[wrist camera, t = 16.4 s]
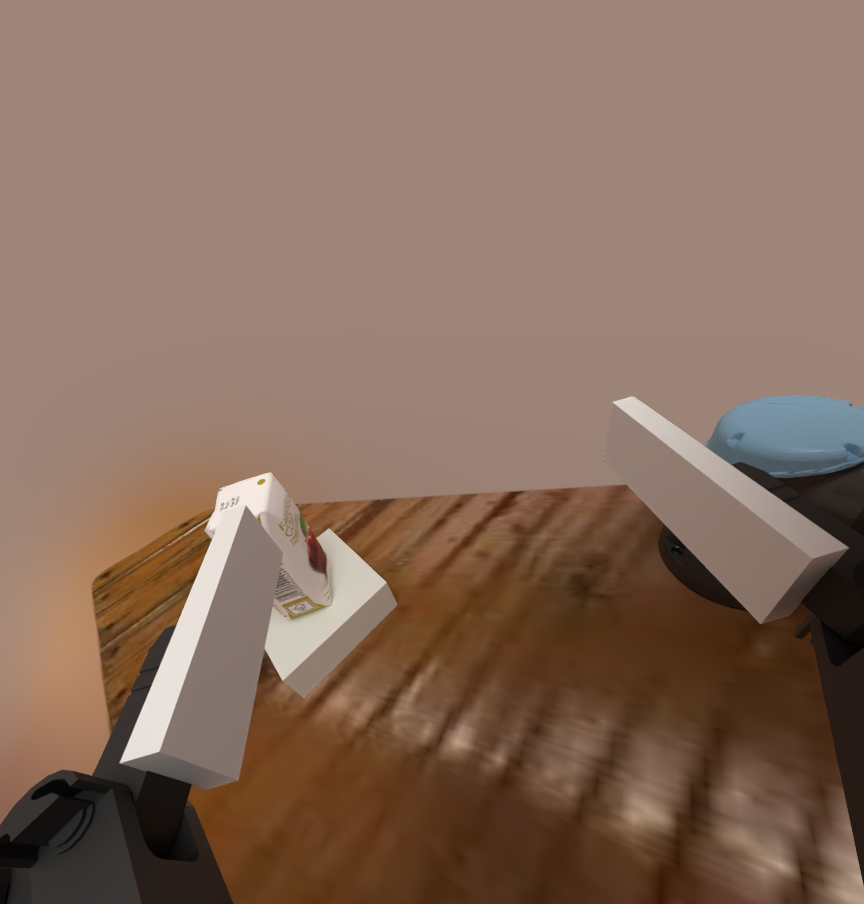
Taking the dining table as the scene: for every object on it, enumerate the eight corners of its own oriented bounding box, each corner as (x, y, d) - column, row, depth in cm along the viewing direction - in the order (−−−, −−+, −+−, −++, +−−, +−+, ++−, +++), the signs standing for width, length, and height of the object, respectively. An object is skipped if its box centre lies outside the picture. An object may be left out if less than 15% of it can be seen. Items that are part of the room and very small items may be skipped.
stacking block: (341, 549, 62) (329, 528, 58) (397, 604, 52) (386, 582, 48) (258, 618, 54) (237, 598, 51) (304, 698, 44) (282, 680, 41)
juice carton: (281, 629, 46) (194, 539, 34) (286, 575, 52) (213, 485, 41) (337, 608, 46) (269, 513, 35) (334, 558, 53) (277, 464, 42)
